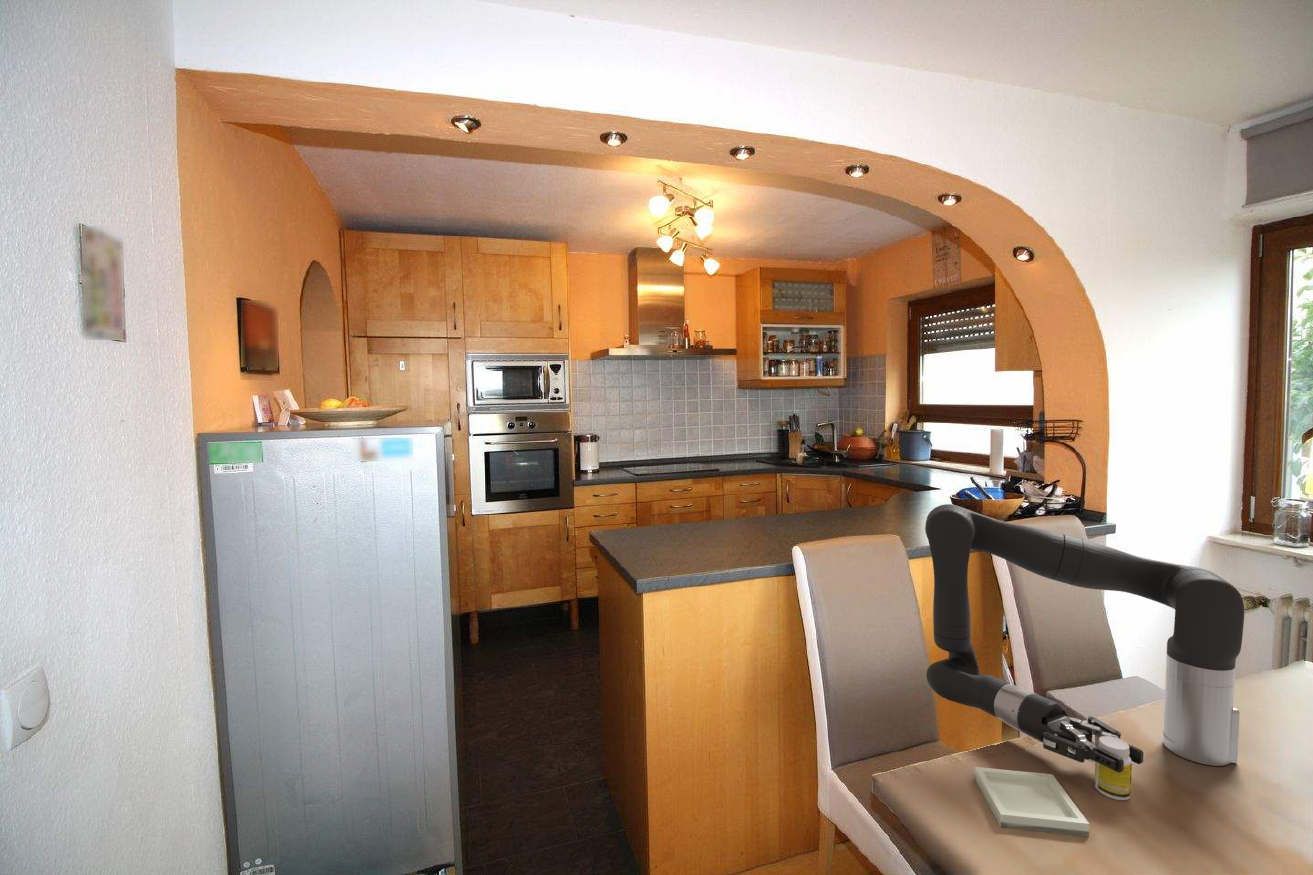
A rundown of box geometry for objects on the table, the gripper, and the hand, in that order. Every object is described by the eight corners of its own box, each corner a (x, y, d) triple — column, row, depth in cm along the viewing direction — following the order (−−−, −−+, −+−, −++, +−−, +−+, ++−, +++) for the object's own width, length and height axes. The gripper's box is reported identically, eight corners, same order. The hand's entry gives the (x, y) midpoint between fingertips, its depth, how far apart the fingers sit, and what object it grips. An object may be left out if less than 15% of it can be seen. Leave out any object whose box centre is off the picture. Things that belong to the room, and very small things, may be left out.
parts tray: (1051, 785, 101) (1052, 774, 101) (1088, 836, 89) (1089, 823, 89) (974, 778, 103) (974, 766, 103) (1000, 826, 91) (1000, 814, 91)
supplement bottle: (1137, 802, 96) (1139, 752, 96) (1103, 799, 97) (1105, 749, 97) (1120, 783, 101) (1122, 735, 100) (1088, 780, 102) (1090, 732, 101)
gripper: (1003, 701, 109) (1106, 750, 93) (1054, 685, 114) (1159, 728, 99) (1002, 741, 109) (1104, 797, 93) (1053, 723, 115) (1157, 773, 99)
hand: (1131, 761), depth 96 cm, fingers closed on supplement bottle, 4 cm apart
